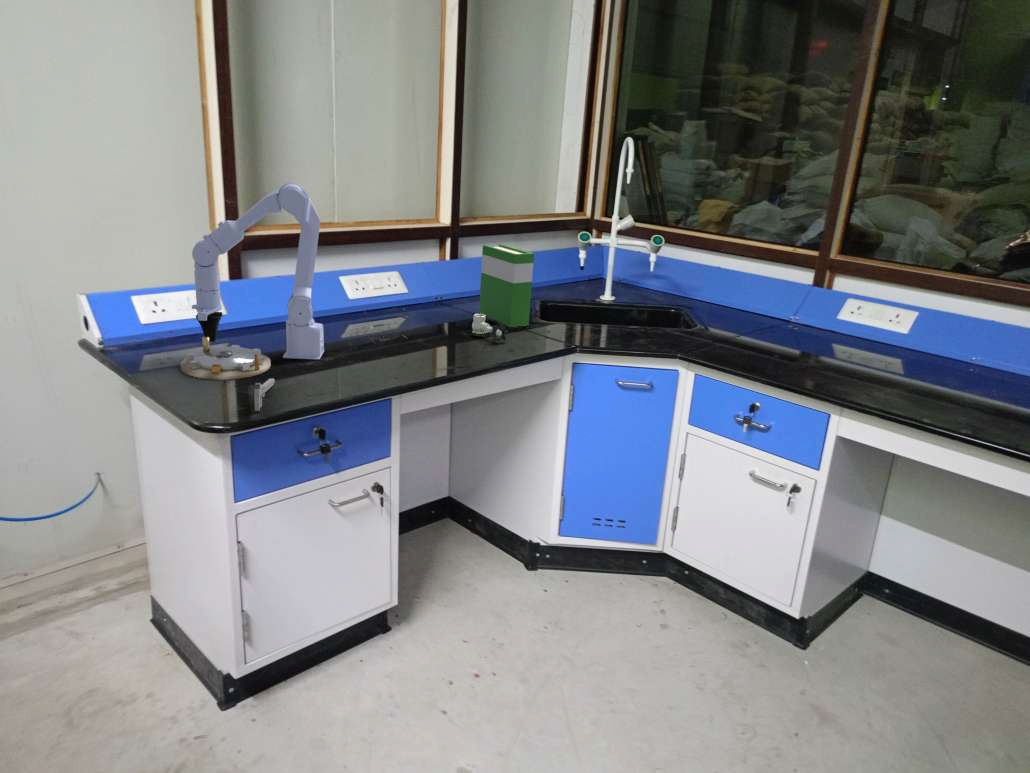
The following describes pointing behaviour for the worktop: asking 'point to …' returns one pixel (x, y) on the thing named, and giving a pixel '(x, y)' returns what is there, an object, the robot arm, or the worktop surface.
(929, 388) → the worktop surface
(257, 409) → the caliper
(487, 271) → the hardback book
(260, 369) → the mounting board
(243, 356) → the sprocket
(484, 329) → the valve
